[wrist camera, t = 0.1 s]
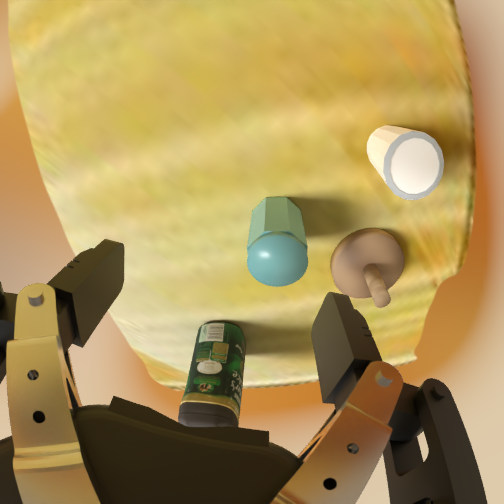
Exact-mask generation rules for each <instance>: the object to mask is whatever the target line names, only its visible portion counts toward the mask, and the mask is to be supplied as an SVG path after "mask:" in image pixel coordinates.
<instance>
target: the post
mask: <svg viewBox="0 0 504 504" xmlns="http://www.w3.org/2000/svg"><path fill="white" fill-rule="evenodd" d="M330 266H331V272H332V276H333V279H334V283H335V285H336V287H337V288H338V289H339V290H340V291H341V292H342V293H343V294H345V295H348V296H350V297H353V298H369V297H372V298H373V301H374V304H375V306H376V307H379V308H382V307H385V306H387V305H388V304H389V303H390V301H391V298H390V295H389V293H388V291H387V290H388V289H389V288H390V287H392V286H393V285H394V284H395V282H396V281H397V280H398V279H399V277H400V275H401V273H402V271H403V268H404V254H403V251H402V249H401V248H400V246H399V244H398V243H397V241H396V240H395V238H394V237H393V236H392V235H391V234H390V233H388V232H386V231H384V230H381V229H377V228H366V229H361V230H358V231H356V232H353V233H351V234H350V235H348V236H347V237H345V238H344V239H343V240H342V241H341V242H340V243H339V244H338V245H337V247H336V248H335V250H334V252H333V254H332V257H331V265H330Z"/></svg>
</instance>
